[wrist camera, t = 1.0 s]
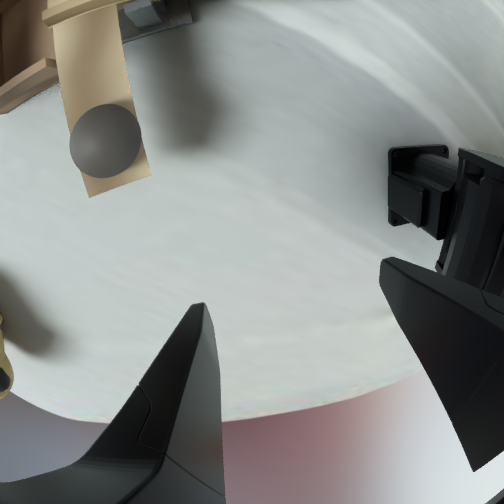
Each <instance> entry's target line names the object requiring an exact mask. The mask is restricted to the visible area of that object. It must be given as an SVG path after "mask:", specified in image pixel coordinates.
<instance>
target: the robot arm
mask: <svg viewBox="0 0 504 504" xmlns="http://www.w3.org/2000/svg"><path fill="white" fill-rule="evenodd" d="M443 149H444V152H443ZM394 152H396V155H395V157H394ZM458 156H459V163H457V162H455V161H452V160H450V159H448V158H449V150H448V147H447V146H446V145H442V144H440V145H420V146H405V147H393V148H391V149H390V150H389V152H388V164H389V176H388V206H389V210H388V222H389V224H391V225H392V226H399V225H403V224H407V223H412V224H413V225H415V226H416V227H418V228H419V227H420V228H422V229H423V230H424V231H426V232H427V233H428V234H430V235H431V236H432V237H434V238H435V239H436V240H443V245H442V249H441V253H440V256H439V260H437V262H436V266H435V269H436V271H437V272H438V273H437V272H434V271H432V270H429V269H426V268H423V267H421V266H418V265H415V264H412V263H410V262H407V261H404V260H401V259H398V258H395V257H389V258H385V259H383V260H382V261H381V264H380V276H379V284H380V287H381V289H382V291H383V293H384V295H385V297H386V299H387V301H388V303H389V306H390V308H391V310H392V312H393V314H394V316H395V318H396V320H397V322H398V324H399V326H400V327H401V329H402V331H403V332H404V334H405V336H406V338H407V339H408V341H409V343H410V344H411V346H412V348H413V350H414V351H415V353H416V355H417V357H418V358H419V360H420V362H421V364H422V366H423V367H424V369H425V371H426V373H427V375H428V376H429V378H430V380H431V382H432V384H433V386H434V388H435V390H436V391H437V393H438V396H439V398H440V400H441V401H442V403H443V405H444V408H445V410H446V411H447V414H448V416H449V418H450V420H451V422H452V424H453V427H454V429H455V431H456V433H457V435H458V438H459V440H460V442H461V444H462V447H463V449H464V451H465V454H466V456H467V459H468V461H469V464H470V466H471V468H472V470H473V472H475V471H476V470H478V469H479V468H481V467H482V466H484V465H485V464H487V463H488V462H489V461H491V460H492V459H493V458H495V457H496V456H497V455H499V454H500V453H501V452H503V451H504V159H503V158H500V157H497V156H494V155H490V154H486V153H482V152H477V151H473V150H468V149H463V148H459V150H458ZM394 219H395V221H393V220H394ZM0 504H226V498H225V484H224V466H223V446H222V421H221V388H220V368H219V360H218V354H217V347H216V340H215V333H214V327H213V323H212V320H211V317H210V314H209V311H208V309H207V306H206V304H205V303H204V302H202V303H197V304H193V305H191V306H190V308H189V309H188V311H187V312H186V313H185V315H184V316H183V318H182V319H181V321H180V322H179V324H178V325H177V327H176V328H175V330H174V331H173V333H172V334H171V336H170V337H169V339H168V340H167V342H166V343H165V344H164V346H163V347H162V349H161V350H160V352H159V353H158V355H157V356H156V358H155V359H154V361H153V362H152V364H151V365H150V367H149V368H148V370H147V371H146V373H145V374H144V376H143V378H142V379H141V381H140V382H139V385H137V386H136V388H135V390H134V391H133V393H132V394H131V396H130V397H129V398H128V400H127V401H126V403H125V404H124V406H123V407H122V409H121V410H120V411H119V412H118V414H117V415H116V416H115V418H114V419H113V420H112V421H111V423H110V424H109V425H108V427H107V428H106V429H105V430H104V431H103V433H102V434H101V435H100V436H99V437H98V439H97V440H96V441H95V442H94V444H93V445H92V446H91V447H90V448H89V450H88V451H87V452H86V453H85V454H84V455H83V456H82V457H81V458H80V459H79V460H77V461H76V462H74V463H73V464H71V465H68V466H66V467H63V468H60V469H57V470H54V471H50V472H47V473H44V474H40V475H37V476H33V477H30V478H27V479H22V480H18V481H14V482H7V483H1V482H0ZM486 504H504V489H503V490H502V491H500V492H499V493H498V494H497V495H496V496H494V497H493V498H492V499H491V500H489V501H488V502H487V503H486Z"/></svg>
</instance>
